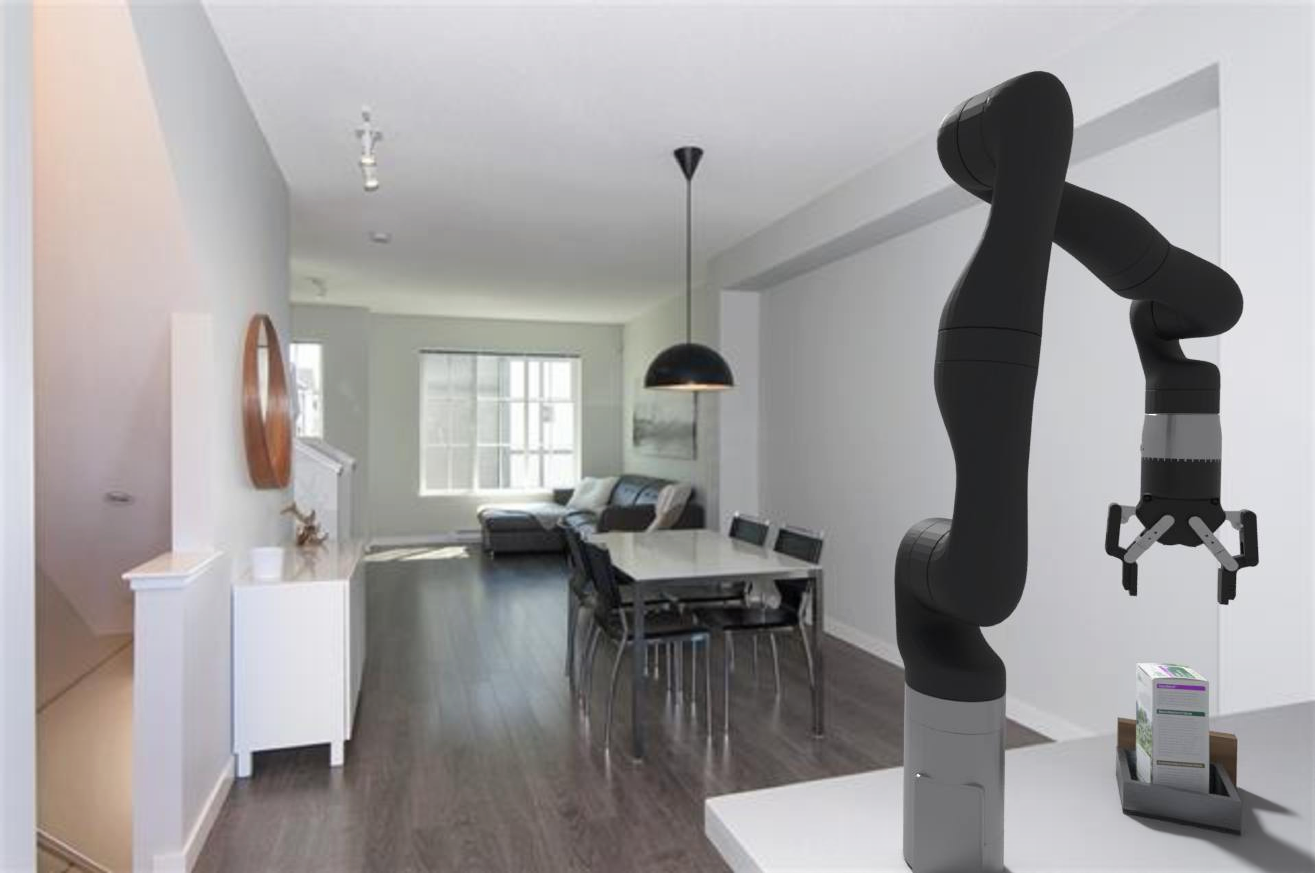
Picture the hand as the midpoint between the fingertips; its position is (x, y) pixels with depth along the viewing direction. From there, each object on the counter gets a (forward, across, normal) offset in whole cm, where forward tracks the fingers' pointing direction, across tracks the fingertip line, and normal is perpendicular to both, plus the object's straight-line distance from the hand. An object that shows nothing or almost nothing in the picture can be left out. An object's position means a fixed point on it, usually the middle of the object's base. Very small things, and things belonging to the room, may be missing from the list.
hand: (1177, 599), depth 89 cm
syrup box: (+23, 0, 0) cm, 23 cm away
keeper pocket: (+23, 0, 0) cm, 23 cm away
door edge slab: (+23, +1, +8) cm, 24 cm away
